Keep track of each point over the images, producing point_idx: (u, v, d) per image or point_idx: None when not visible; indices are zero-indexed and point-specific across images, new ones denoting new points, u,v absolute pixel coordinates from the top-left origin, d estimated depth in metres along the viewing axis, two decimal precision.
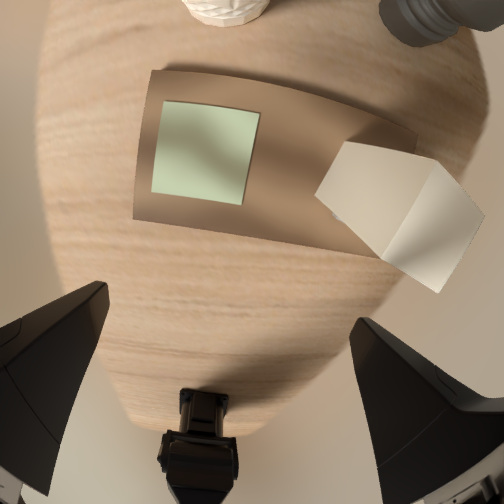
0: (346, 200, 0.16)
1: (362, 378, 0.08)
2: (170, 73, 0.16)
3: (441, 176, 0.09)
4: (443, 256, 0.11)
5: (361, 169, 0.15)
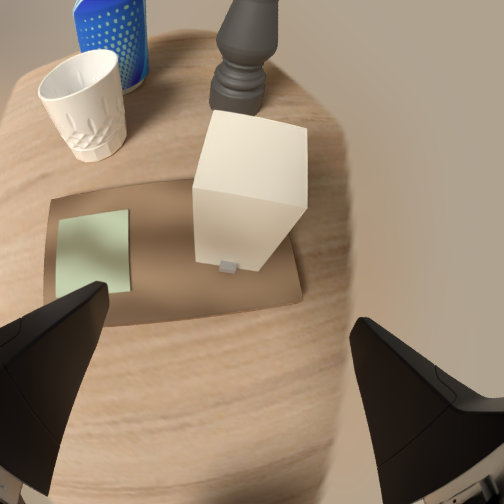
0: None
1: (362, 378, 0.08)
2: (63, 199, 0.21)
3: (225, 116, 0.13)
4: (277, 169, 0.12)
5: None
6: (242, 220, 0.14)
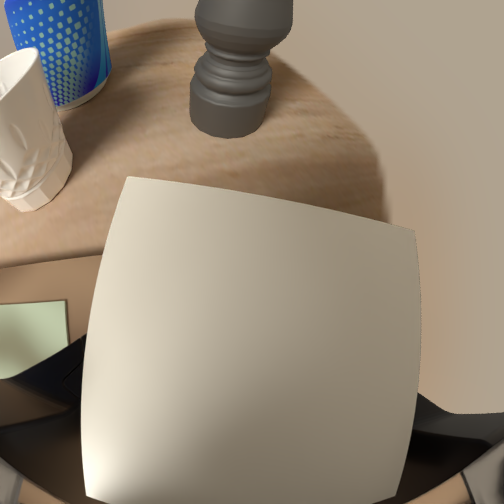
0: None
1: None
2: None
3: (161, 205, 0.04)
4: (341, 425, 0.03)
5: None
6: None
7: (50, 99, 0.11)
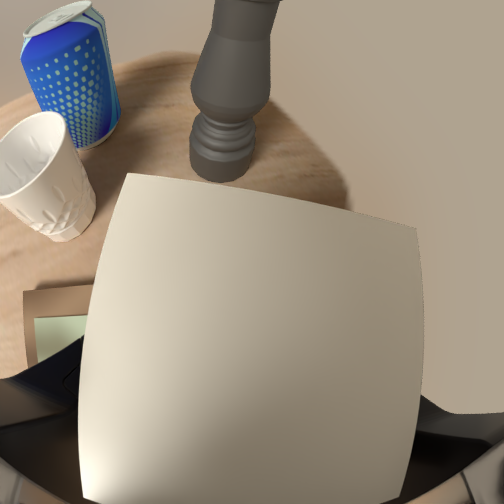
0: None
1: None
2: (34, 292, 0.18)
3: (160, 201, 0.04)
4: (344, 425, 0.03)
5: None
6: None
7: (78, 158, 0.17)
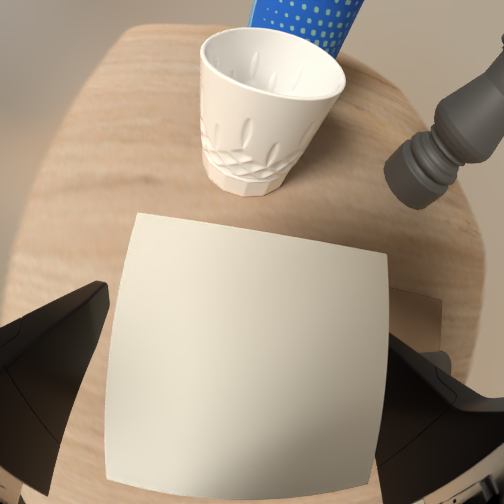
0: None
1: None
2: None
3: (166, 239, 0.05)
4: (314, 418, 0.04)
5: None
6: None
7: None
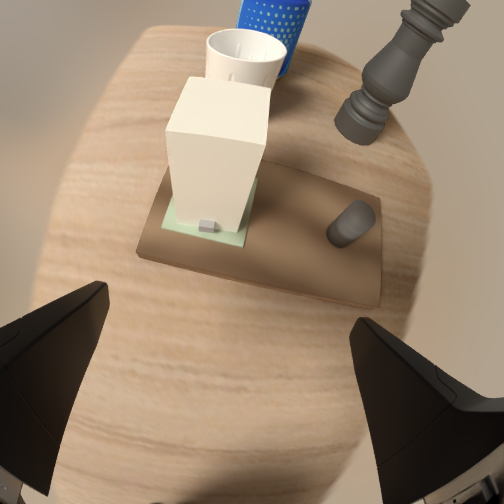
0: None
1: (362, 378, 0.08)
2: None
3: (198, 80, 0.14)
4: (240, 116, 0.13)
5: None
6: (211, 164, 0.15)
7: None
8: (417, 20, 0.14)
